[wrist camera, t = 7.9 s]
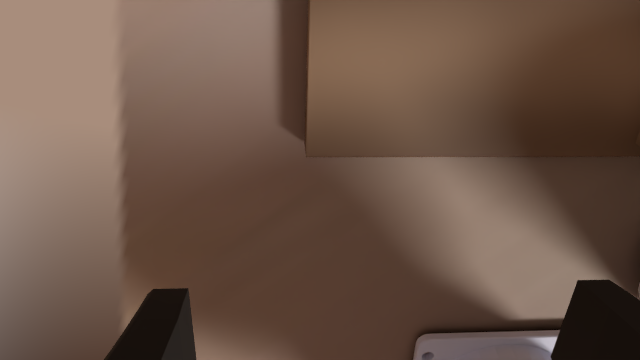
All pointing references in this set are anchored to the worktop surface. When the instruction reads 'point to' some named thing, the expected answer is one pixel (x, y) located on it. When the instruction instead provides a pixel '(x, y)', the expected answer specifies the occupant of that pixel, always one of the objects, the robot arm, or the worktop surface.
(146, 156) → the worktop surface
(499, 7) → the cradle
